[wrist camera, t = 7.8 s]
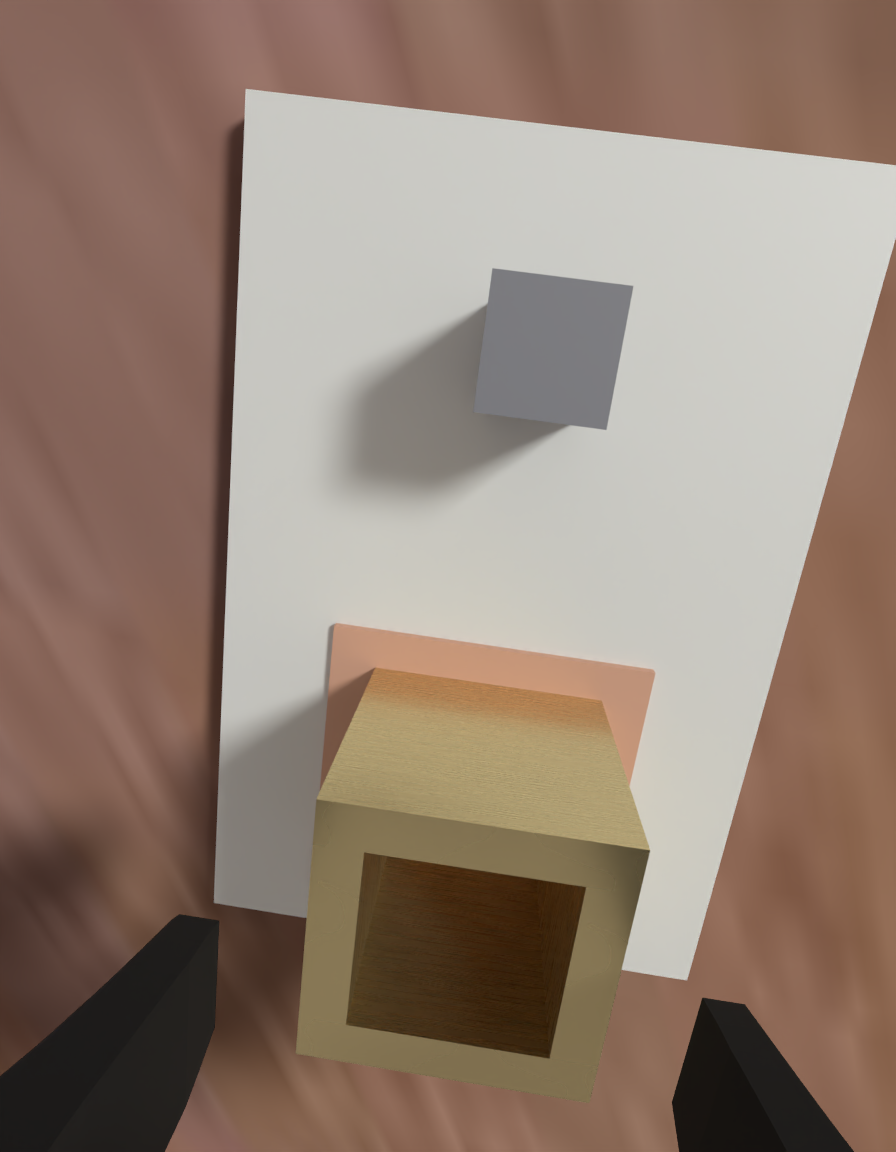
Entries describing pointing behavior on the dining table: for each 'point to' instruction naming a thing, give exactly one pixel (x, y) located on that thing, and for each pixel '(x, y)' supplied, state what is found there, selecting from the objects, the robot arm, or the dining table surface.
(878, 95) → the dining table surface
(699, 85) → the dining table surface
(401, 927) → the sleeve
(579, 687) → the board
